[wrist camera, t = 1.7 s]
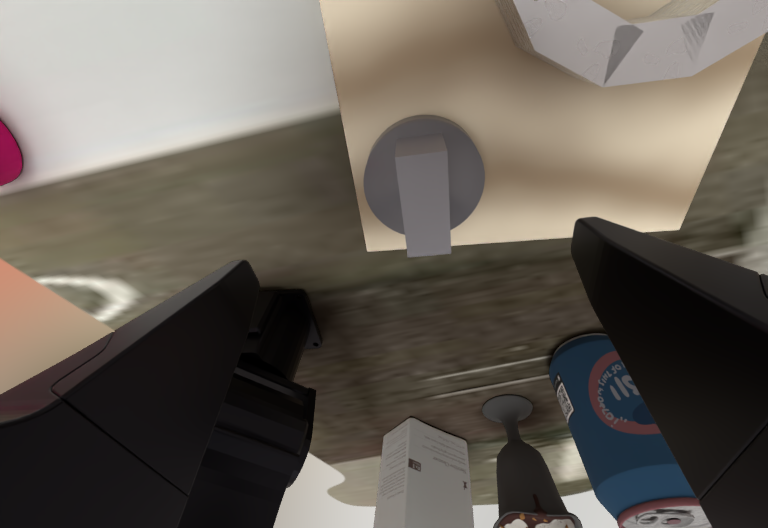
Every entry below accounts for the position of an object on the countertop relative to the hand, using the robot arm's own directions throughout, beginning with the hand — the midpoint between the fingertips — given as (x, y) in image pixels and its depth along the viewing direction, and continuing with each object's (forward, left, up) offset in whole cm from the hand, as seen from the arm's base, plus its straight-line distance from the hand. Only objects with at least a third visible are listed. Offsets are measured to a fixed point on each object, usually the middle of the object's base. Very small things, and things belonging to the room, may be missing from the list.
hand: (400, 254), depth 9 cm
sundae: (-28, -8, -12) cm, 31 cm away
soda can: (-20, -14, -12) cm, 27 cm away
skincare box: (-34, +1, -12) cm, 36 cm away
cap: (-2, -1, -11) cm, 11 cm away
